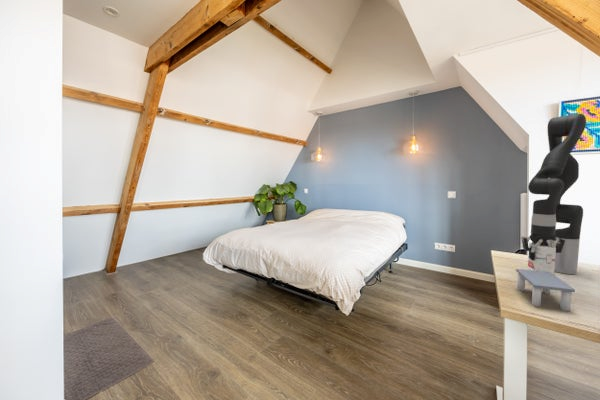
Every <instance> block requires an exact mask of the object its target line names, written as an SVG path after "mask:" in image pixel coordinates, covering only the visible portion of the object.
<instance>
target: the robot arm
mask: <svg viewBox="0 0 600 400" xmlns="http://www.w3.org/2000/svg"><path fill="white" fill-rule="evenodd" d="M586 126H587V118H586V116H585V114H583V113H574V114H568V115H560V116H556V117H555V116H554V117H552V118H550V119H549V121H548V123H547V137H548V138H547V139H548V146H549V147H548V148H549V152H548V153H547V154H546V156H545V157H544V158H543V160H542V164H541V167H540V169H539V170H538V171H537V172H536V173H535V175H534V176H533V177H532V179H530V181H529V183H528V185H527V186H528V189H527V190H528V191H529V192H530V193H531V194H534V195H543V196H544V195H545V196H548V197H546V199H545V198H543V199H536V200H535V201H533V203H532V215H531V221H530V222H531V224H530V235H529V236H525V237H524V236H521V238H520V239H521V243H522V248H523V250H525V251H526V252H528V257H529V258H530V259H531V260H534V258H535V253H534V251H535V250H536V249H537V246H539V245H541V246H549V247H552V243H551V241H550V239H551V240H553V241H555V242H556V255H555V270H554V272H557V273H560V274H567V275H576V274H577V273H578V262H579V252H580V237H581V232H582V230H581V229H582V223H583V218H584V208H583V206H582V205H579V204H564V203H561V199H562V197H563V196H564V195H565V193H566V192H567V191H568V190H569V189H570V188H571V187H572V186H573V185H574V184H575V183H576V182H577V180H579V173H580V172H579V171H580V169H579V167H580V164H579V162H578V161H577V158H575V157H574V156H573V155H572V154H571V153H572V151H574V148H575V146H576V145H577V143H578V142H579V140H580V138H581V137H582V136H583V133H584V131H585V130H586ZM562 137H565V139H564V140H563V141H562V139H561V138H562ZM557 223H558V224H559V223H560V224H569V225H568V227H563V228H556V227H557V226H556V225H557ZM529 241H531V242H532V243H531V245H530V247H529ZM533 244H535V245H533Z"/></svg>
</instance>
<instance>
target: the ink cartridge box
mask: <svg viewBox="0 0 600 400" xmlns="http://www.w3.org/2000/svg"><path fill="white" fill-rule="evenodd" d="M550 241H551V243H552V247H549V246H541V245H539V246H537V249H536V250H535V251H534V253H535V258H534V260H531V259H530V258H529V256H528V261H527V266H528V267H529V268H531V270H532V269H533V270H535V271H545V272H551V273H552V274H554V275H555V271H554V270H555V255H556V242H555V241H553V240H551V239H550ZM531 243H532V241H531V242H528V246H529V247H530V245H531ZM533 245H535V244H533Z"/></svg>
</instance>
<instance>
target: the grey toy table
mask: <svg viewBox="0 0 600 400" xmlns="http://www.w3.org/2000/svg"><path fill="white" fill-rule="evenodd" d="M515 272H517V283H516V284H517V287H516V289H517V291H520V292H521V291H523V292H525V291H526V282H527V283H529V284H530V285H531V286H532V291H531V292H532V293H531V294H532V295H531V305H532V306H533V307H536V308H541V306H542V305H541V304H542V303H541V302H542V293H543V294H546V295H550V294H551V291H552V290H553V291H558V292H559V291H560V304H559V306H560V307H559V308H560V309H561V310H562V311H566V312H571V303H572V302H571V301H572V293H576V288H574V287H572V286H571V285H569V284H568V283H566V282H565V281H563V279H561V278H559V277H558V276H556V275H555V273H554V274H552V273H551V272H545V271H536V270H534V269H533V270H532V269H524V268H515Z"/></svg>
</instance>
